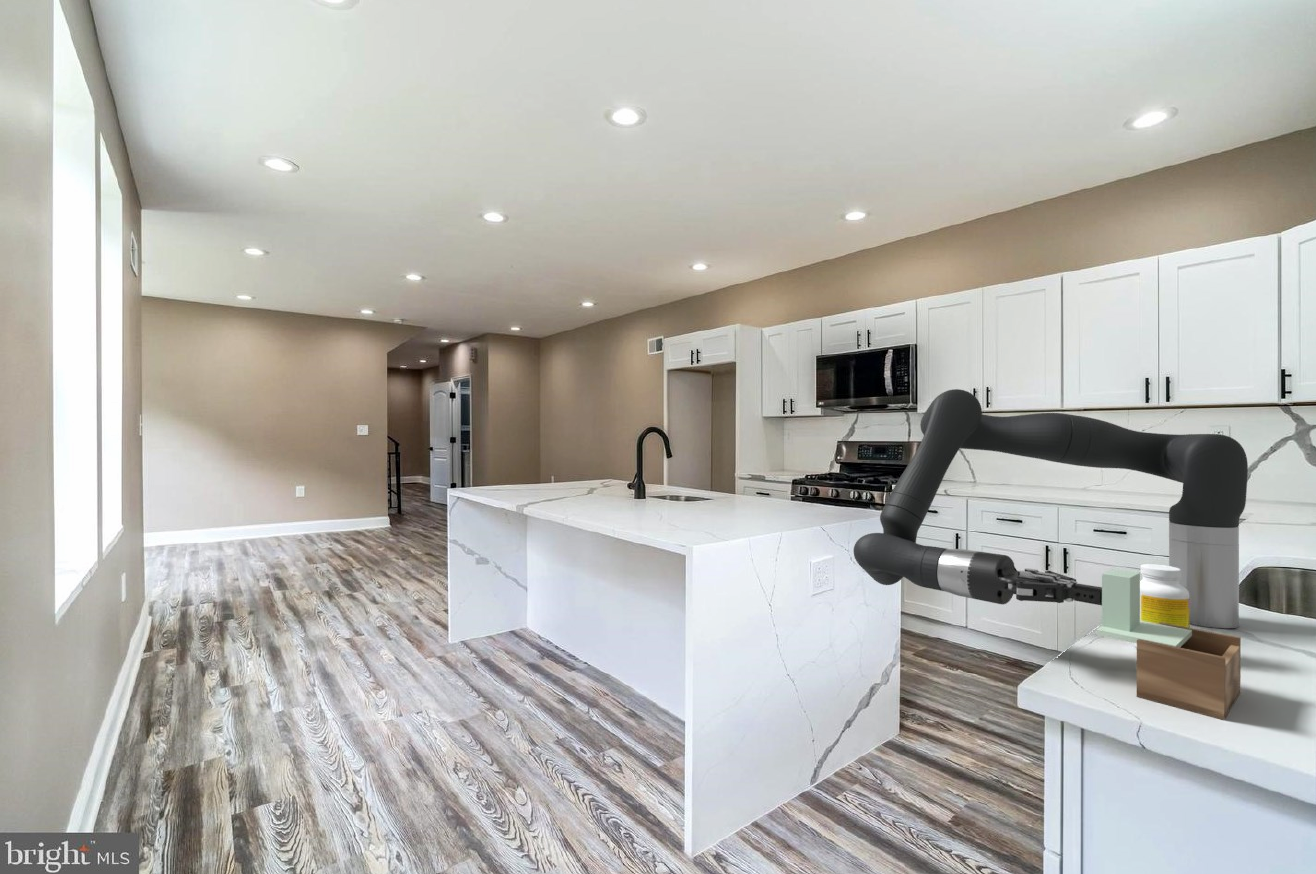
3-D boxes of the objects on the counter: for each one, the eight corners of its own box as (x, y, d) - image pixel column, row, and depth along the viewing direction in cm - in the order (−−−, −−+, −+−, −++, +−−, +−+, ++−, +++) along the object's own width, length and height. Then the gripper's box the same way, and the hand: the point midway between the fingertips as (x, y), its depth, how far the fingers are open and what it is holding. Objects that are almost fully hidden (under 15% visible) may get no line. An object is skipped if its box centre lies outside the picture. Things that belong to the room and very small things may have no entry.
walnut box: (1159, 673, 82) (1159, 622, 82) (1240, 692, 76) (1240, 637, 76) (1136, 696, 75) (1136, 640, 75) (1224, 720, 69) (1224, 658, 69)
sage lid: (1117, 621, 85) (1117, 566, 85) (1192, 635, 79) (1192, 577, 79) (1096, 634, 79) (1096, 576, 79) (1175, 651, 73) (1175, 588, 73)
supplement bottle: (1200, 661, 87) (1201, 572, 87) (1148, 658, 88) (1148, 570, 88) (1171, 646, 94) (1171, 563, 94) (1123, 643, 95) (1123, 561, 95)
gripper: (956, 556, 91) (1092, 576, 78) (993, 546, 100) (1121, 563, 86) (956, 605, 91) (1092, 634, 78) (993, 592, 100) (1121, 616, 86)
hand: (1107, 597), depth 82 cm, fingers closed
